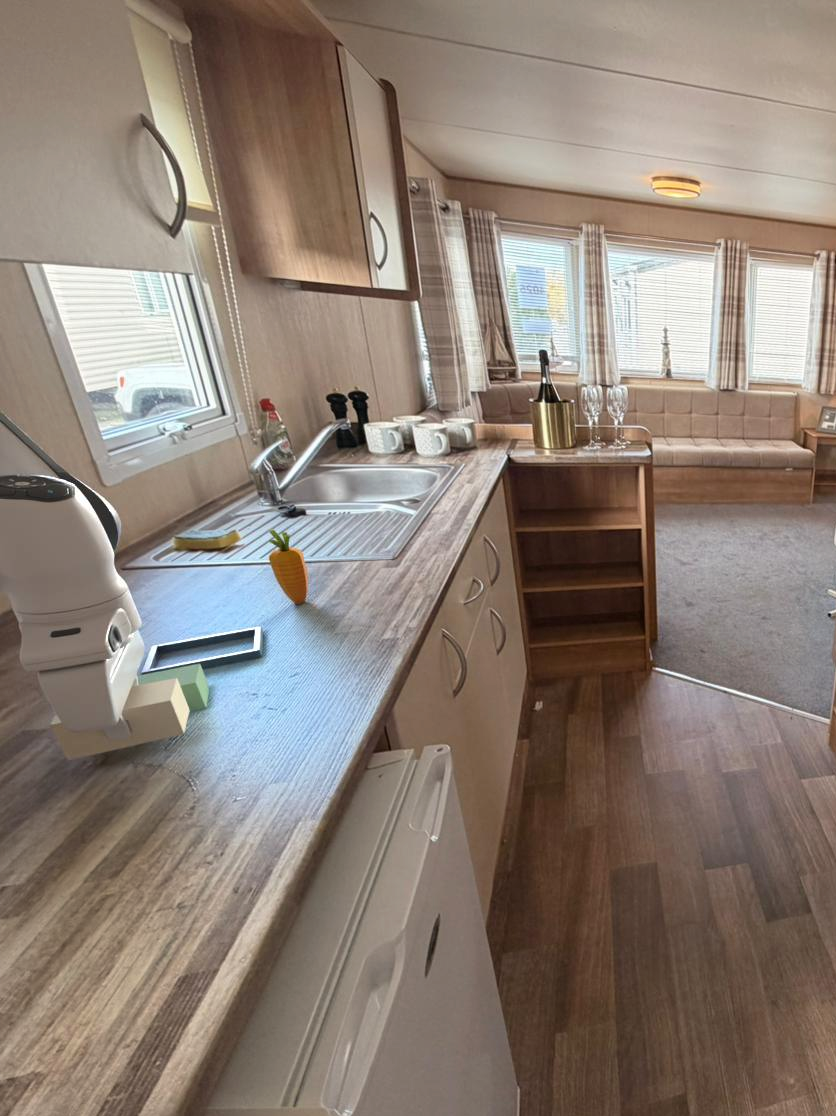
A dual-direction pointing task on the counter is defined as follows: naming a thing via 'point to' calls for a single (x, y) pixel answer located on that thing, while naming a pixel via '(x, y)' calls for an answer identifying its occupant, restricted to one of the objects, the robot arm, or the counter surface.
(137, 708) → the cream pad
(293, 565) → the carrot
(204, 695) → the sage pad
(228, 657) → the pad tray
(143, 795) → the counter surface
